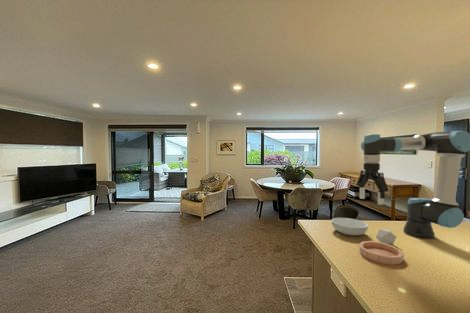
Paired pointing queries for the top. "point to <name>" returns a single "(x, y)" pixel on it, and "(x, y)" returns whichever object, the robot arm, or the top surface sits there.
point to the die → (386, 236)
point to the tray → (381, 252)
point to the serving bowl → (349, 226)
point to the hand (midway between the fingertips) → (370, 201)
